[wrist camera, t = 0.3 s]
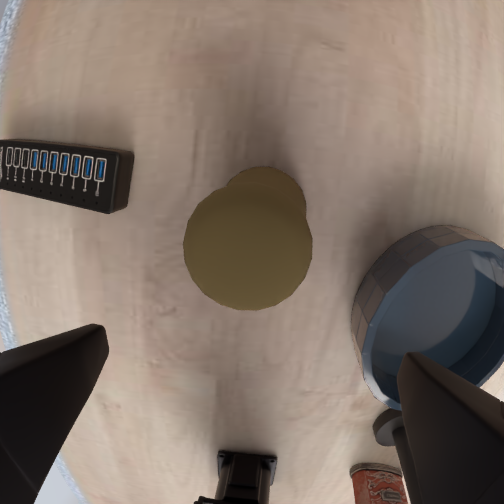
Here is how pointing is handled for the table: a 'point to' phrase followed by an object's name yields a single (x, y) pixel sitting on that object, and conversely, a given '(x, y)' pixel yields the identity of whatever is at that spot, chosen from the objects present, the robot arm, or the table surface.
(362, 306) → the bowl
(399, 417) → the dark disc-based rod
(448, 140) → the table surface
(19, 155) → the multiport hub
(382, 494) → the lighter
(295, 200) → the olive game pawn
